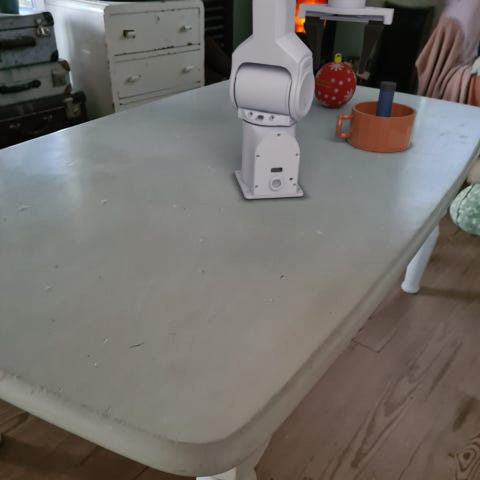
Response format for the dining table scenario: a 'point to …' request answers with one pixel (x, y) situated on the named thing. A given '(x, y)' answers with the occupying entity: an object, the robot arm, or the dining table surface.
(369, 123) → the mug
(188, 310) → the dining table surface
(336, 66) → the christmas ornament
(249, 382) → the dining table surface
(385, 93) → the glue stick
